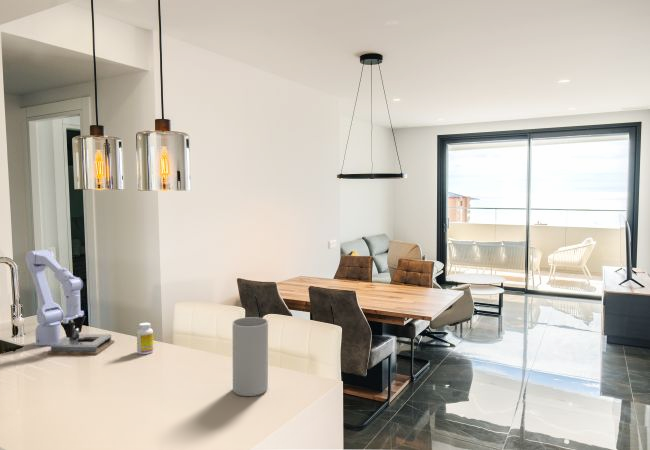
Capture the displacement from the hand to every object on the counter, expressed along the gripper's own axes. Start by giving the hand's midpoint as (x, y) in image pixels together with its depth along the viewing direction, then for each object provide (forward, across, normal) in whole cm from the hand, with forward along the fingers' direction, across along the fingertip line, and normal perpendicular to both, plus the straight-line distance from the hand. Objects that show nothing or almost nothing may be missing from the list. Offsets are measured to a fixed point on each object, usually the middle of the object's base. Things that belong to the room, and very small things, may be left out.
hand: (74, 334), depth 210 cm
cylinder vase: (+6, -44, -86) cm, 97 cm away
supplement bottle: (+6, -5, -34) cm, 35 cm away
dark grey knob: (+5, 0, 0) cm, 5 cm away
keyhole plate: (+5, 0, -4) cm, 6 cm away
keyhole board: (+6, 0, -3) cm, 7 cm away
